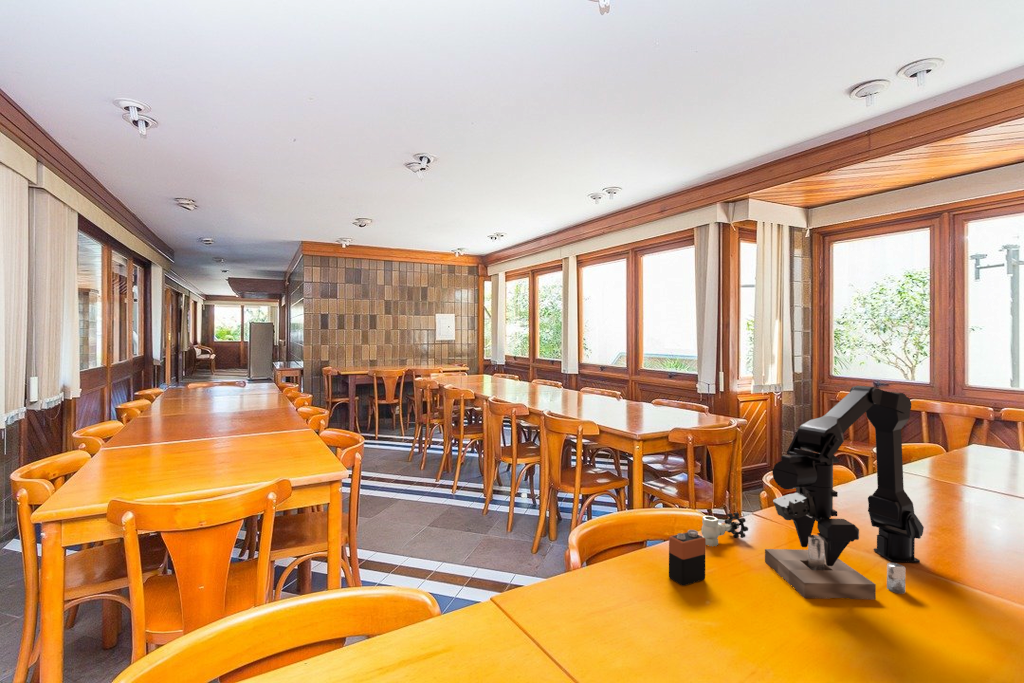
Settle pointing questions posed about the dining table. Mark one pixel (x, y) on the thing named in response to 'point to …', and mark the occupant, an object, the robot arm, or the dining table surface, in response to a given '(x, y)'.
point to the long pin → (815, 552)
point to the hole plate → (819, 576)
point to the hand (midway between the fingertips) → (816, 556)
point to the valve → (721, 528)
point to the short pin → (896, 578)
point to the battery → (687, 557)
